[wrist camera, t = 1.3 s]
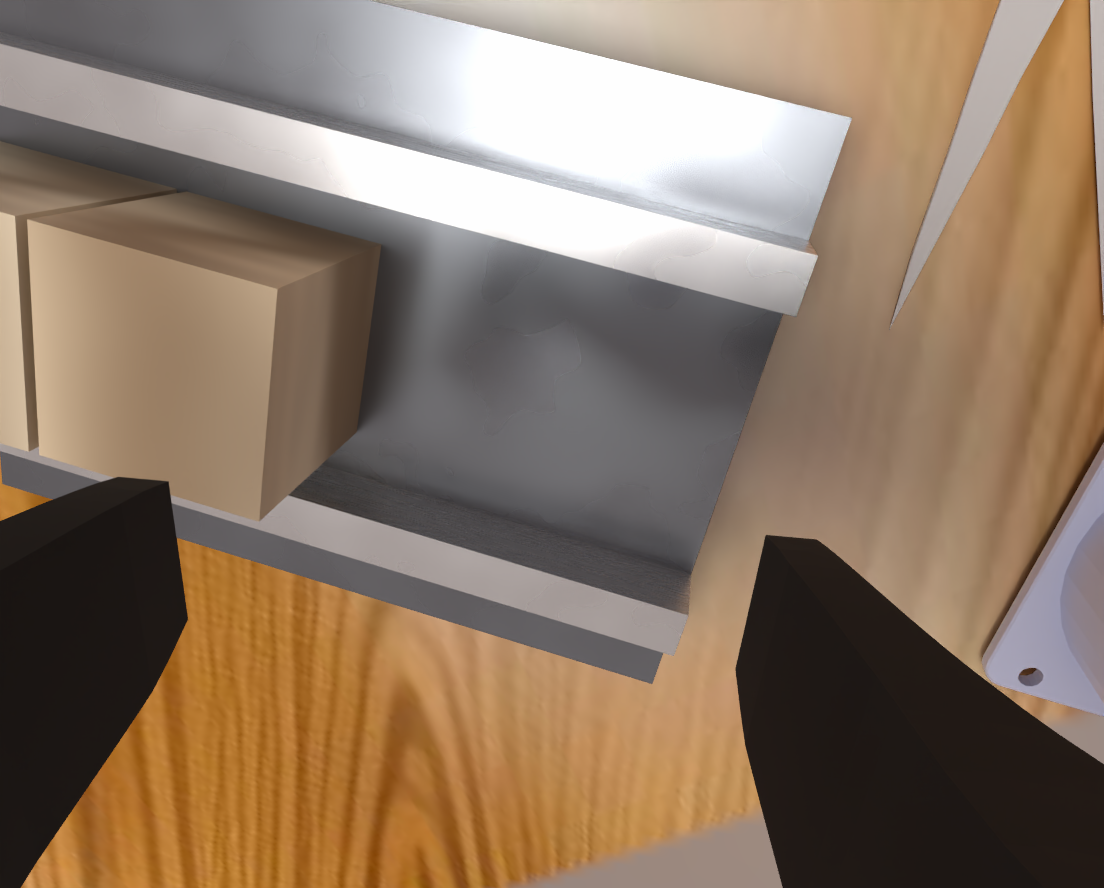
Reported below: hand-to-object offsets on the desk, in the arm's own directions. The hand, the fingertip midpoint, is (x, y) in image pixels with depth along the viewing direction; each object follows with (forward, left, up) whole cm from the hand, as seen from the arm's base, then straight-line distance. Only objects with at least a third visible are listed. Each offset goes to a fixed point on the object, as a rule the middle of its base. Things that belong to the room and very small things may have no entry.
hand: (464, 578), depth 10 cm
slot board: (+4, 0, -10) cm, 11 cm away
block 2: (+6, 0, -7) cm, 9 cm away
